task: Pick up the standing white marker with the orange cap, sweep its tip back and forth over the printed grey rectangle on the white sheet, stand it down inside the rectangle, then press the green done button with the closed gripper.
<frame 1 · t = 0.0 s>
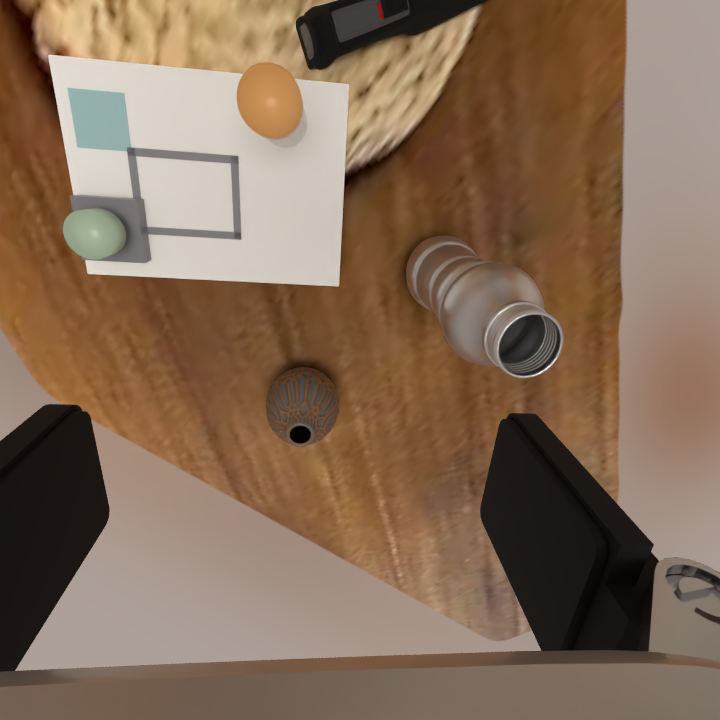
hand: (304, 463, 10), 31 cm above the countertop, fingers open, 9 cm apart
sheet: (212, 184, 36), on the countertop
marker: (284, 122, 34), point 1 cm above the countertop, touching sheet
button housing: (116, 228, 36), resting on sheet
done button: (95, 233, 32), point 4 cm above the countertop, slide at 0.0 cm
vase: (304, 387, 44), on the countertop
plastic bottle: (434, 268, 40), on the countertop
electric trimmer: (391, 14, 32), on the countertop
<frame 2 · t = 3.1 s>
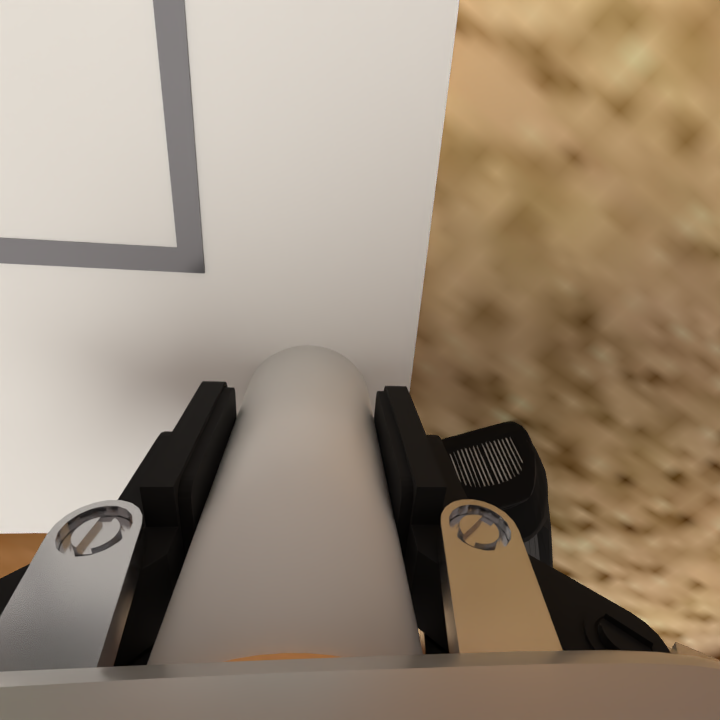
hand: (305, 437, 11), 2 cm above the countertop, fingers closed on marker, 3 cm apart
sheet: (106, 167, 10), on the countertop
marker: (308, 402, 13), point 1 cm above the countertop, touching gripper, sheet
electric trimmer: (500, 566, 18), on the countertop
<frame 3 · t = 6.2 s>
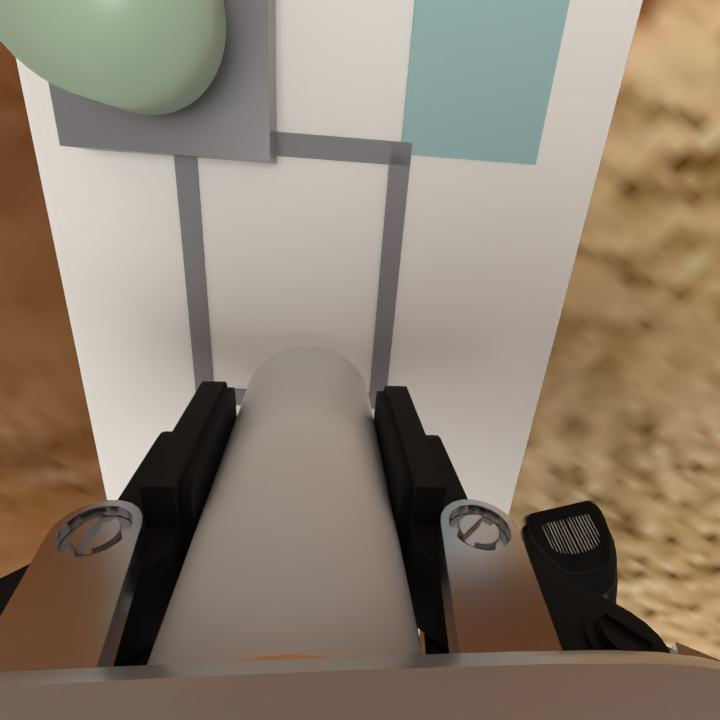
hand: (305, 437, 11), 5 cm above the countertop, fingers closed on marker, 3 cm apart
sheet: (323, 340, 15), on the countertop
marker: (308, 402, 13), point 3 cm above the countertop, touching gripper
button housing: (177, 48, 11), resting on sheet
electric trimmer: (563, 604, 22), on the countertop
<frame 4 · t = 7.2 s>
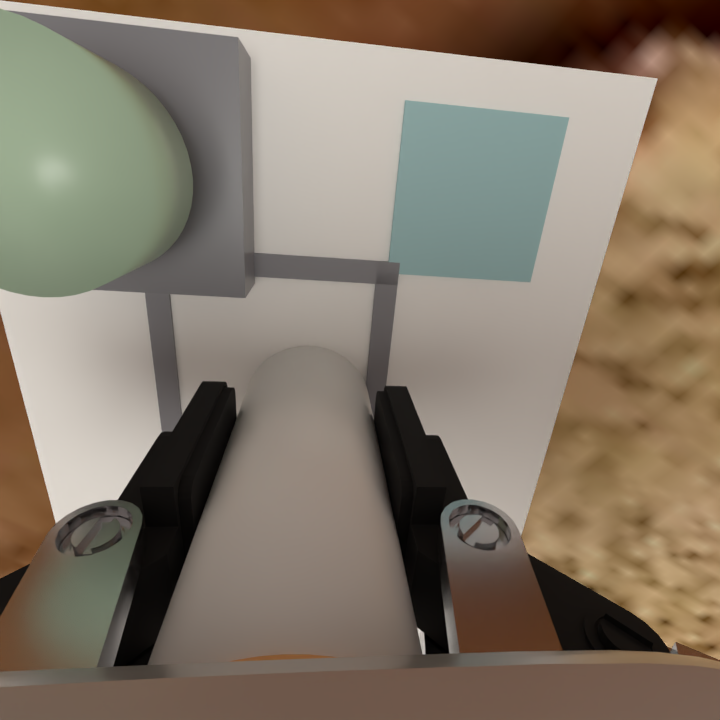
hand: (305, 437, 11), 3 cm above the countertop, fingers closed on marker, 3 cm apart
sheet: (306, 445, 14), on the countertop
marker: (308, 402, 13), point 1 cm above the countertop, touching gripper
button housing: (145, 172, 10), resting on sheet
done button: (57, 169, 7), point 4 cm above the countertop, slide at 0.0 cm
when the fingers open (2 cm above the countertop, at t = 9.1 s): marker stays where it is, resting on sheet.
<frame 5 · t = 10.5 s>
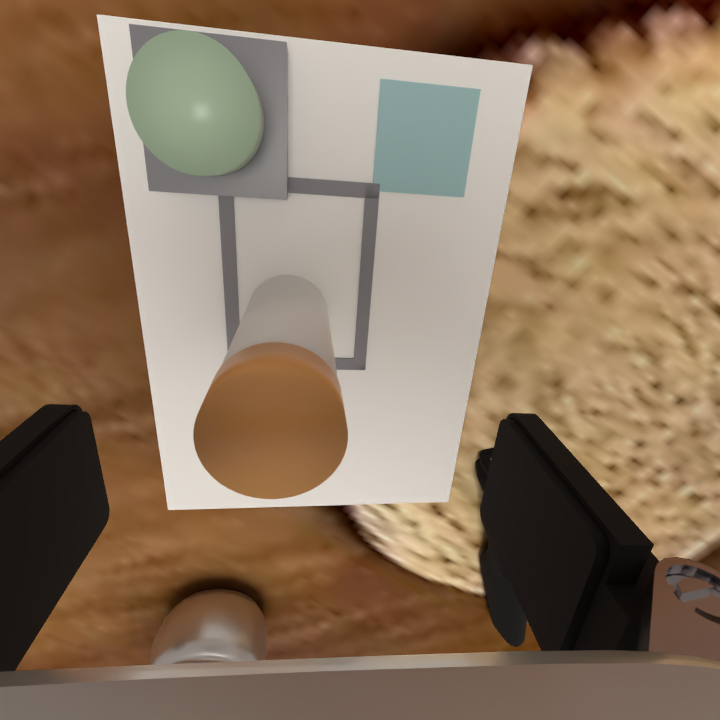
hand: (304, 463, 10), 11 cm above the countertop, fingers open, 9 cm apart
sheet: (319, 320, 21), on the countertop
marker: (288, 313, 20), point 1 cm above the countertop, touching sheet
button housing: (222, 124, 16), resting on sheet
done button: (201, 112, 13), point 4 cm above the countertop, slide at 0.0 cm
plastic bottle: (218, 606, 28), on the countertop
electric trimmer: (502, 529, 28), on the countertop
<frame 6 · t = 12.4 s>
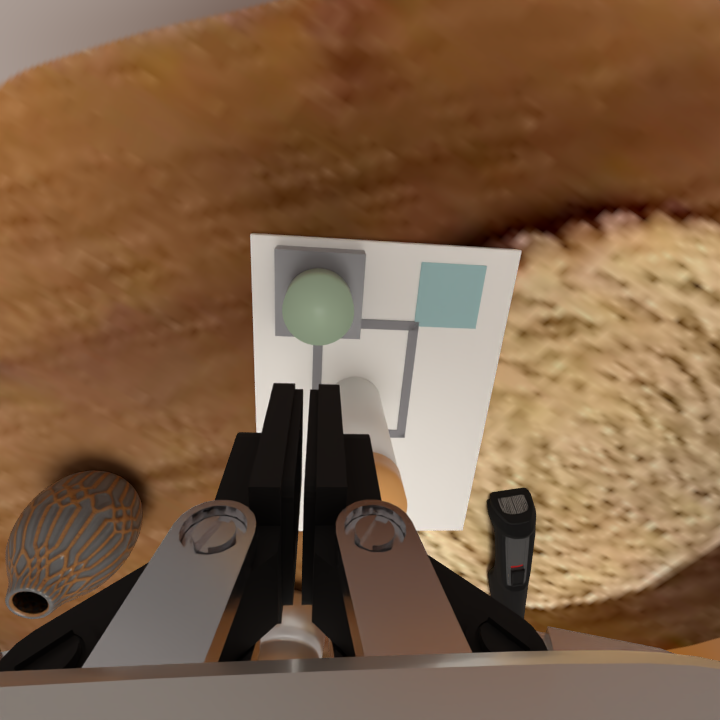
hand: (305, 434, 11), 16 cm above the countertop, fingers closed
sheet: (373, 403, 29), on the countertop
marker: (353, 401, 29), point 1 cm above the countertop, touching sheet
button housing: (319, 290, 25), resting on sheet
done button: (318, 306, 22), point 4 cm above the countertop, slide at 0.0 cm
vase: (107, 491, 31), on the countertop
plastic bottle: (286, 602, 37), on the countertop
electric trimmer: (506, 551, 37), on the countertop
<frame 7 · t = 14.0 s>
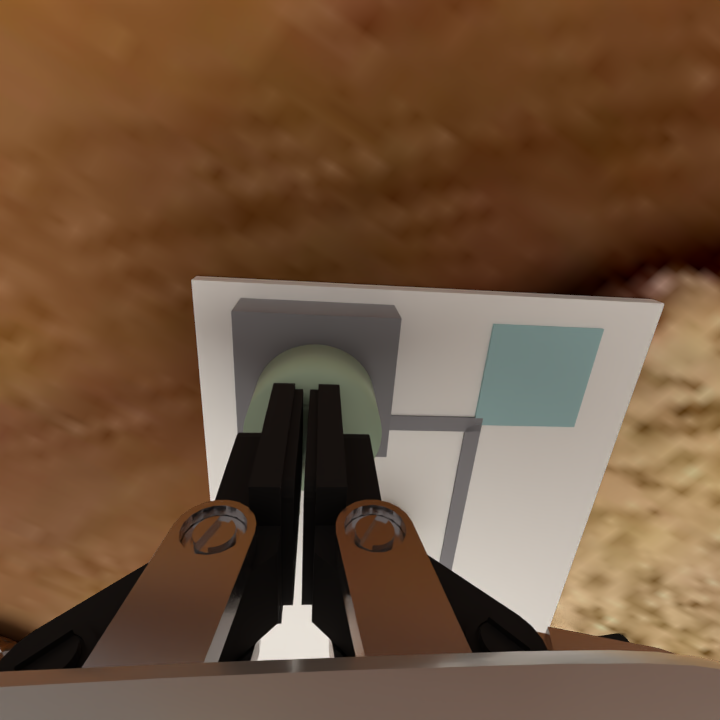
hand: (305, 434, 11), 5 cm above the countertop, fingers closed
sheet: (402, 531, 19), on the countertop
button housing: (316, 370, 15), resting on sheet
done button: (314, 416, 12), point 4 cm above the countertop, slide at -0.5 cm, touching gripper
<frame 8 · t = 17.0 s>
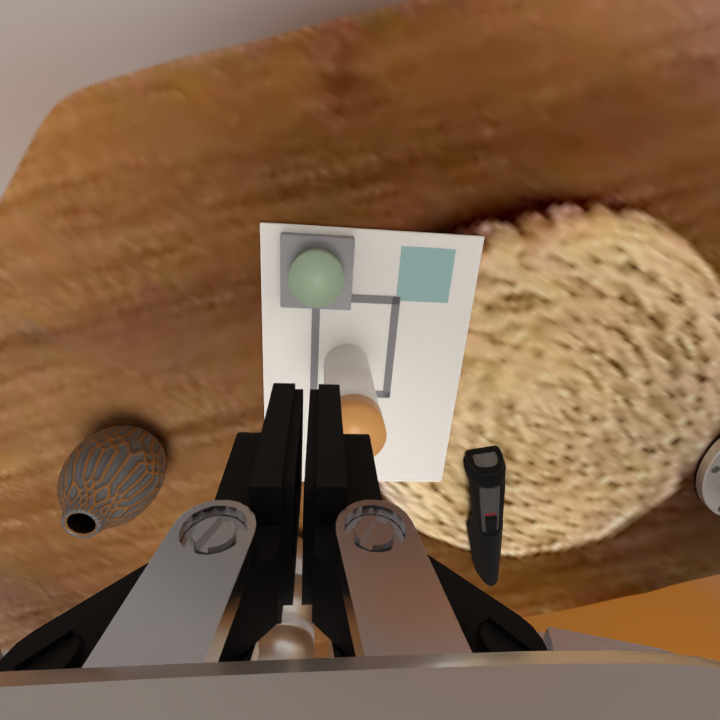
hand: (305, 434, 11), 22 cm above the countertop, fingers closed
sheet: (363, 368, 35), on the countertop
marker: (346, 365, 34), point 1 cm above the countertop, touching sheet
button housing: (317, 269, 31), resting on sheet
done button: (316, 277, 28), point 3 cm above the countertop, slide at -1.0 cm
vase: (135, 446, 36), on the countertop
plastic bottle: (289, 548, 42), on the countertop
electric trimmer: (482, 504, 42), on the countertop
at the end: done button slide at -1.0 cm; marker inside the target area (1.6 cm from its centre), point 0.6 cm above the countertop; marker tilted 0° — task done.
